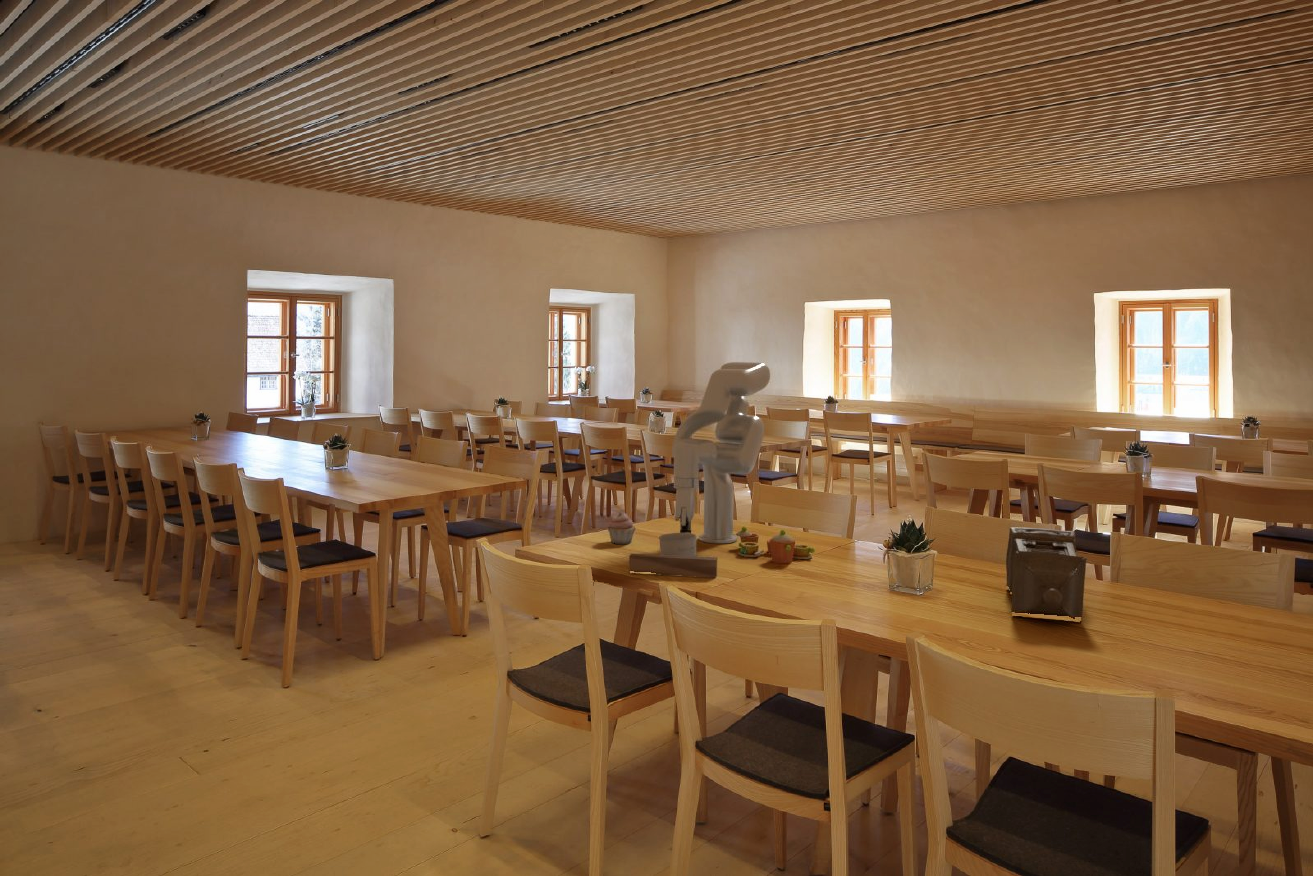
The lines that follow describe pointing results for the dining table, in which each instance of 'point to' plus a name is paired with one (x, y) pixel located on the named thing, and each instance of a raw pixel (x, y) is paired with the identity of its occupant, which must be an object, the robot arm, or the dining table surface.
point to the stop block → (674, 565)
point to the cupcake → (621, 529)
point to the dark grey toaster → (1045, 572)
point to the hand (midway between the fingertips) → (685, 542)
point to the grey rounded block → (678, 544)
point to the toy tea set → (774, 547)
